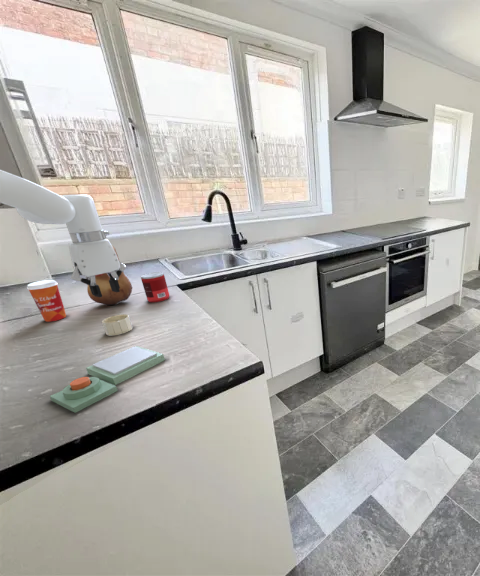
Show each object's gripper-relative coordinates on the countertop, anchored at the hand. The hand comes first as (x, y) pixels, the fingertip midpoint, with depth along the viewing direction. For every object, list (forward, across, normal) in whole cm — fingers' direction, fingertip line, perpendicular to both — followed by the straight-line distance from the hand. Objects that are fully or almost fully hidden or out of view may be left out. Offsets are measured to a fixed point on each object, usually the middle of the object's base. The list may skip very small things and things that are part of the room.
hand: (107, 293), depth 99 cm
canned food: (+14, -24, -18) cm, 33 cm away
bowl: (+13, 0, 0) cm, 13 cm away
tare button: (+11, +23, +31) cm, 40 cm away
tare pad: (+13, +23, +31) cm, 41 cm away
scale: (+13, +12, +27) cm, 32 cm away
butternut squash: (+14, -14, -30) cm, 36 cm away
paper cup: (+14, +3, -34) cm, 37 cm away
